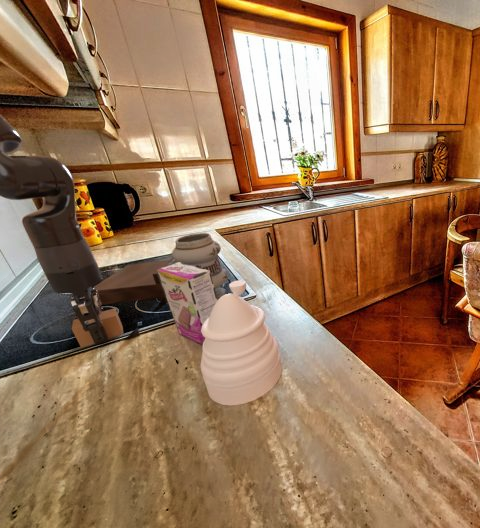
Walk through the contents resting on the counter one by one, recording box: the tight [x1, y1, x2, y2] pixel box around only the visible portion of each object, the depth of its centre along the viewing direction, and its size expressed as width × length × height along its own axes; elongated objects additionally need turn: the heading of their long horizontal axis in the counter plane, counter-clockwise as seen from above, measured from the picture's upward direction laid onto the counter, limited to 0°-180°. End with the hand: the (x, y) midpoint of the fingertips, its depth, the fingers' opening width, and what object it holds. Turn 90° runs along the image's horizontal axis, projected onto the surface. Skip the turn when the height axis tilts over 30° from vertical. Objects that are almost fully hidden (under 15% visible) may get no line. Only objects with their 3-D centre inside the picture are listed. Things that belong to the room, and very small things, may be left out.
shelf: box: [94, 257, 178, 305], centre depth 83 cm, size 18×20×9 cm
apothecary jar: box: [171, 232, 229, 300], centre depth 77 cm, size 12×12×18 cm
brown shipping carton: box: [71, 307, 141, 349], centre depth 61 cm, size 10×5×6 cm, turn 130°
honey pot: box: [199, 279, 283, 406], centre depth 47 cm, size 13×13×18 cm
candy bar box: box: [157, 262, 218, 346], centre depth 59 cm, size 11×5×16 cm, turn 61°
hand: (102, 334), depth 61 cm, fingers open, 6 cm apart
